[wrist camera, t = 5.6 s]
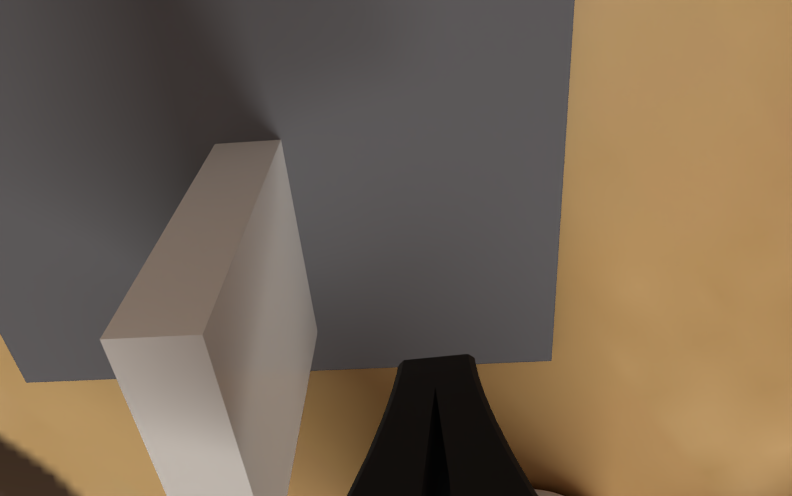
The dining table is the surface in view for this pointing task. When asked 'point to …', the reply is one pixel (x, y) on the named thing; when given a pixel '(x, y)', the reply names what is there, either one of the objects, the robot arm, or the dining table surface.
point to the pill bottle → (546, 493)
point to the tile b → (221, 331)
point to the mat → (290, 164)
